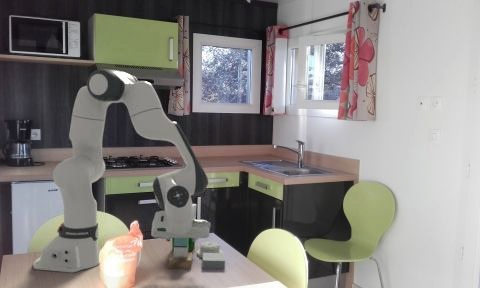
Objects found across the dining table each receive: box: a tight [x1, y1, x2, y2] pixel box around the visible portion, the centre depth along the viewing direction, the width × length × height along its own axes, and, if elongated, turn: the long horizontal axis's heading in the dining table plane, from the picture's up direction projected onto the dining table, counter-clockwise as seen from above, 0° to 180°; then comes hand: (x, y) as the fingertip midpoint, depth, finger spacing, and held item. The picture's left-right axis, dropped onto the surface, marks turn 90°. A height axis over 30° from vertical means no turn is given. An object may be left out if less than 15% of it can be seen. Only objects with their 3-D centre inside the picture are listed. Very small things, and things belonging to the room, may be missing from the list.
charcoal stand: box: [201, 252, 226, 270], centre depth 159 cm, size 8×8×3 cm
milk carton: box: [171, 203, 198, 253], centre depth 175 cm, size 9×9×20 cm
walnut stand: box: [168, 251, 193, 269], centre depth 158 cm, size 8×8×3 cm
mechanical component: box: [196, 241, 223, 259], centre depth 170 cm, size 10×4×10 cm
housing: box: [173, 238, 189, 258], centre depth 158 cm, size 5×4×9 cm
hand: (181, 239), depth 157 cm, fingers open, 8 cm apart
